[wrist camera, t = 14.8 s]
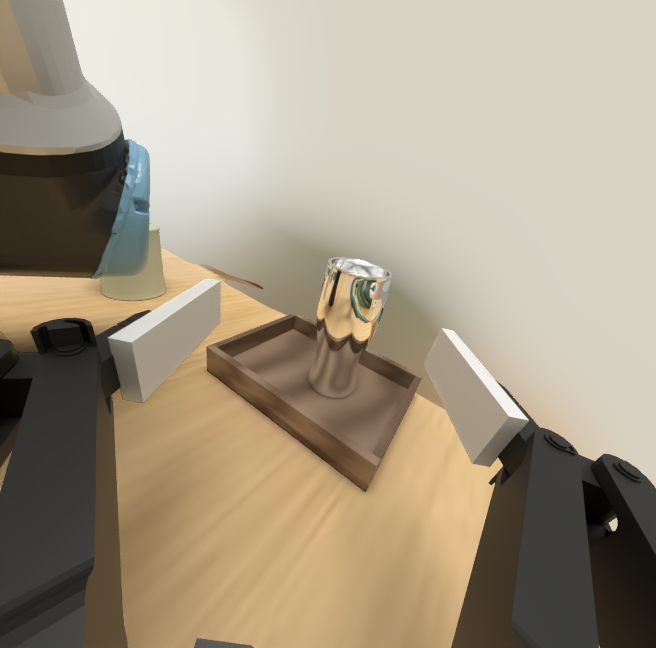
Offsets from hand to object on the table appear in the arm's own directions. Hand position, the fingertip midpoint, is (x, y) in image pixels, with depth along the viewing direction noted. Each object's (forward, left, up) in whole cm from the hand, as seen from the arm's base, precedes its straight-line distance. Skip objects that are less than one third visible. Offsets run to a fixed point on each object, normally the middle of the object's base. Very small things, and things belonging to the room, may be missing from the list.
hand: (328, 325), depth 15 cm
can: (-43, +7, -15) cm, 46 cm away
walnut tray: (-5, +11, -15) cm, 19 cm away
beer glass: (-4, +11, -14) cm, 18 cm away
